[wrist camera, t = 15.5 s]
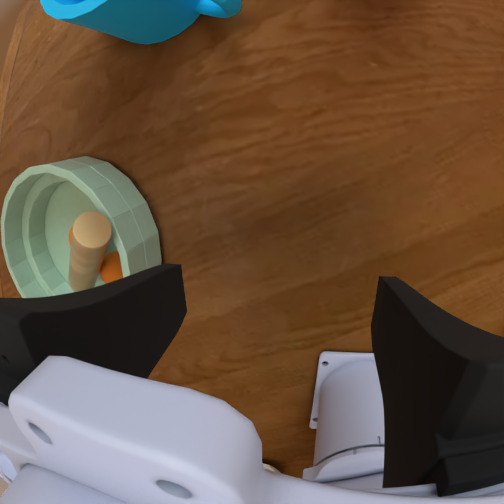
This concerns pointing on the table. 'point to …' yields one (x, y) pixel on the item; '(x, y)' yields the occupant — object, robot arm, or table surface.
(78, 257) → the stir stick
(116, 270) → the ball
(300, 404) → the table surface
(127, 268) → the bowl
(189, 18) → the mug
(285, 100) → the table surface
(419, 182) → the table surface
